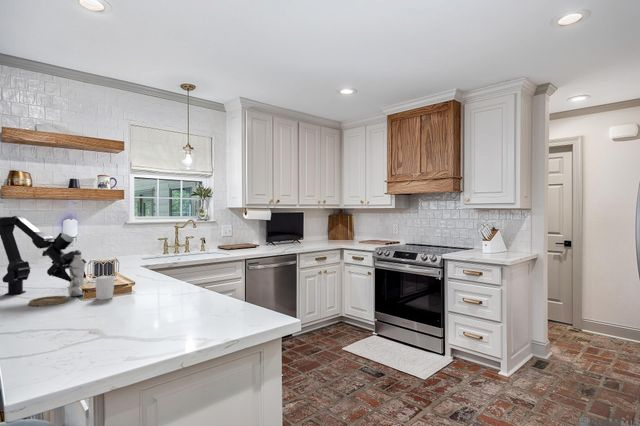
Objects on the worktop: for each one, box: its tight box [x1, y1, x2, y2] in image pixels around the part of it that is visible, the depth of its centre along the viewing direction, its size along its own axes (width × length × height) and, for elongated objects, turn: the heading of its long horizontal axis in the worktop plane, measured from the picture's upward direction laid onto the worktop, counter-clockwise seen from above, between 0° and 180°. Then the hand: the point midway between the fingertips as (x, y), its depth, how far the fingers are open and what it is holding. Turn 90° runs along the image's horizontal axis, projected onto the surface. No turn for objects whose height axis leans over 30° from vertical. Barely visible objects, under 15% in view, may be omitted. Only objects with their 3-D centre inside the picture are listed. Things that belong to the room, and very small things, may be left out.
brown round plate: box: [27, 295, 69, 307], centre depth 166 cm, size 14×14×1 cm
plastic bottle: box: [67, 253, 86, 297], centre depth 179 cm, size 6×7×20 cm
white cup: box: [94, 275, 115, 301], centre depth 175 cm, size 8×8×10 cm
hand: (78, 279), depth 179 cm, fingers open, 9 cm apart
